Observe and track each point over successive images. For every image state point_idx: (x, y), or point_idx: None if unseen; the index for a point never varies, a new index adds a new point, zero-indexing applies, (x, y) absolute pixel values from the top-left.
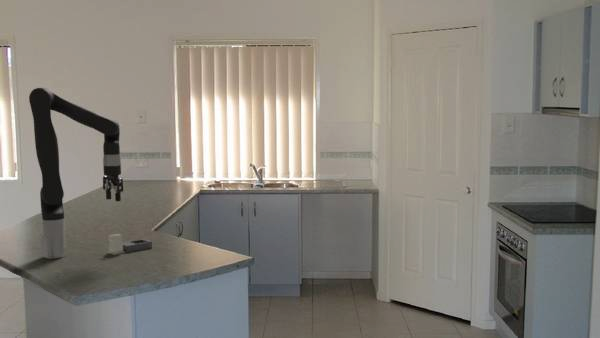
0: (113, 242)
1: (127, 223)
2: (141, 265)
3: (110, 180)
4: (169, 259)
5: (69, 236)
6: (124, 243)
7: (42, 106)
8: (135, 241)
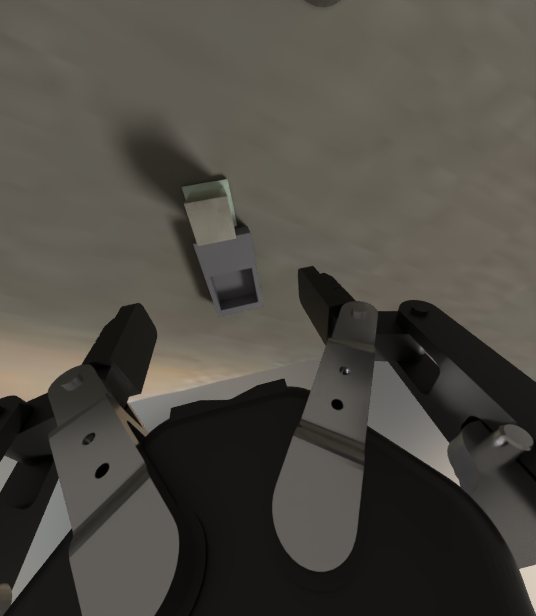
0: (187, 199)
1: (478, 323)
2: None
3: (96, 612)
4: (65, 309)
5: (529, 170)
6: (237, 249)
7: None
8: (255, 285)
